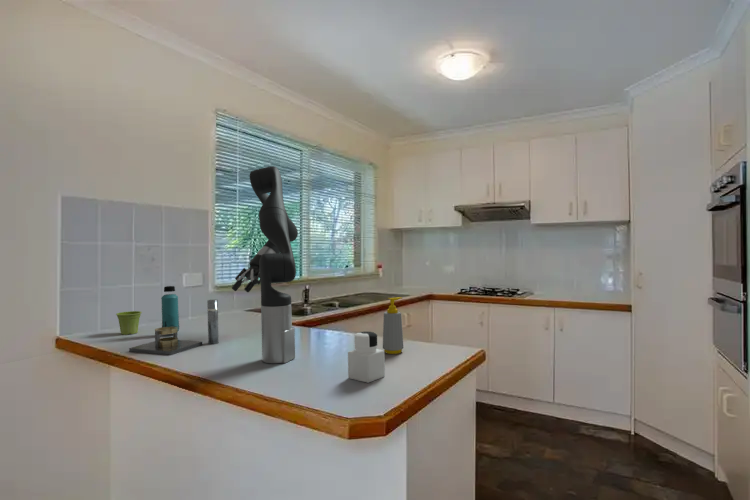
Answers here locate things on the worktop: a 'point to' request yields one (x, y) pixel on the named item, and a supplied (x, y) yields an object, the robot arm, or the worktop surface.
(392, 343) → the soap bottle
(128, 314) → the plant pot
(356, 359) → the medicine bottle
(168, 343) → the dark square plate
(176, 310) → the beverage bottle
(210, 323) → the glossy dome-topped cylinder
